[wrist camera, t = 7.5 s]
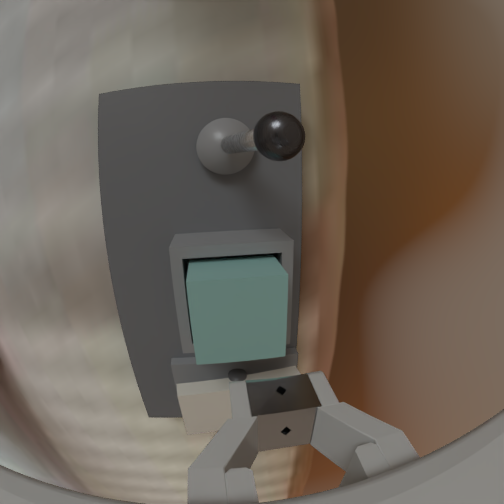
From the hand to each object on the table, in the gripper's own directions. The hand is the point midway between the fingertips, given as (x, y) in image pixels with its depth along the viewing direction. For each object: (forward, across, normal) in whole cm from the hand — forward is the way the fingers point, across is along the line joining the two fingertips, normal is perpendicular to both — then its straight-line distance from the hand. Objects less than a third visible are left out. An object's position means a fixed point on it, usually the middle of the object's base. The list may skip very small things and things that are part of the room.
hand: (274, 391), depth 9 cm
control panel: (+13, +2, 0) cm, 13 cm away
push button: (+8, +1, 0) cm, 8 cm away
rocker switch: (+8, +1, +8) cm, 11 cm away
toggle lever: (+9, +1, -8) cm, 12 cm away
